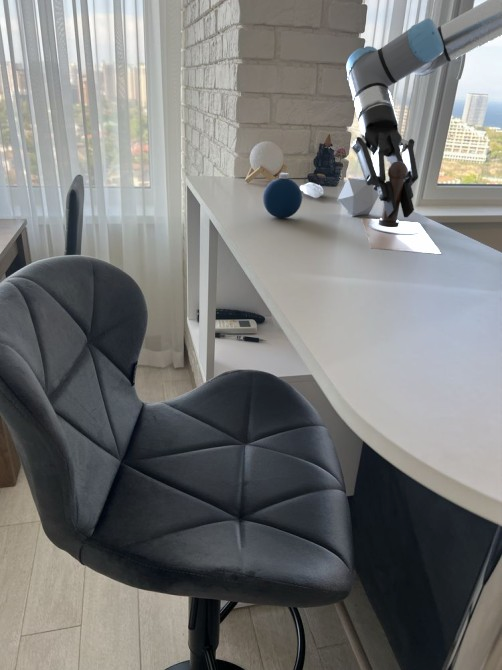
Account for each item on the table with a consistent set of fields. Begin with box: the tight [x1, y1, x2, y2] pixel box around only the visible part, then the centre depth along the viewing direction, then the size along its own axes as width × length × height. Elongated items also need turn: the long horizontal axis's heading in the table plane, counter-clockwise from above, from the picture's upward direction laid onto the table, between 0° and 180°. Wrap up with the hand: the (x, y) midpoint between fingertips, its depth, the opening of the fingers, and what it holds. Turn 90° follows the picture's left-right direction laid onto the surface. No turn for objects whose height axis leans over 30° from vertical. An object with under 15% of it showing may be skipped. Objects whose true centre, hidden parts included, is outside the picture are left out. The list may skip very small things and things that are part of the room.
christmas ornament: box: [262, 172, 303, 219], centre depth 109 cm, size 8×8×10 cm
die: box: [336, 176, 379, 217], centre depth 116 cm, size 8×9×10 cm
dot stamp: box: [378, 161, 408, 227], centre depth 101 cm, size 4×4×12 cm
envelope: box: [360, 217, 443, 255], centre depth 101 cm, size 13×24×1 cm, turn 173°
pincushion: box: [299, 174, 325, 199], centre depth 134 cm, size 12×6×6 cm, turn 6°
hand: (400, 213), depth 99 cm, fingers closed on dot stamp, 3 cm apart
